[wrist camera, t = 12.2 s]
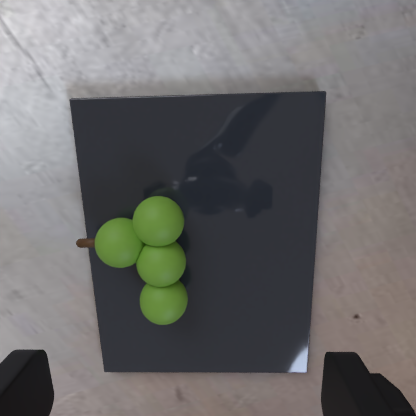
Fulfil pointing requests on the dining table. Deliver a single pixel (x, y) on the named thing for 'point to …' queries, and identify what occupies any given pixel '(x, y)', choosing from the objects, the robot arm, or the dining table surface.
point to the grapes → (148, 255)
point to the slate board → (208, 224)
